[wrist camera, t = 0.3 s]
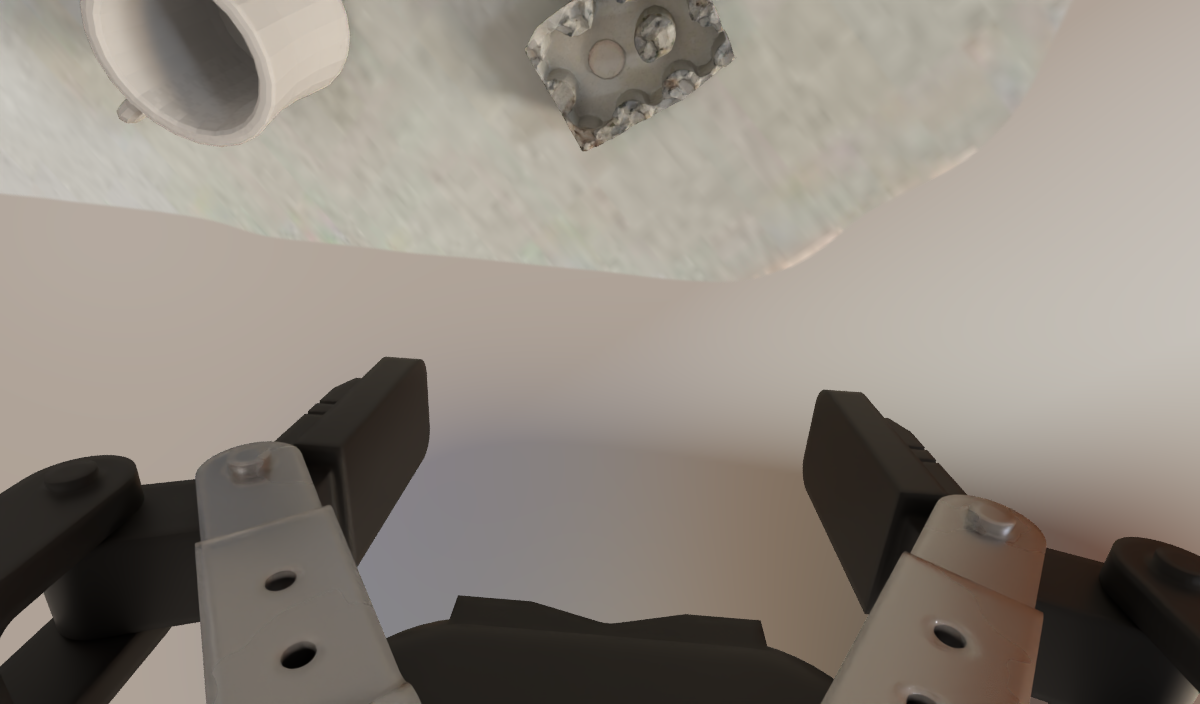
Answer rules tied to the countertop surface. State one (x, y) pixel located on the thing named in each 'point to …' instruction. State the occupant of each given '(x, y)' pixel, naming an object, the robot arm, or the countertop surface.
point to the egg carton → (625, 60)
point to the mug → (216, 60)
